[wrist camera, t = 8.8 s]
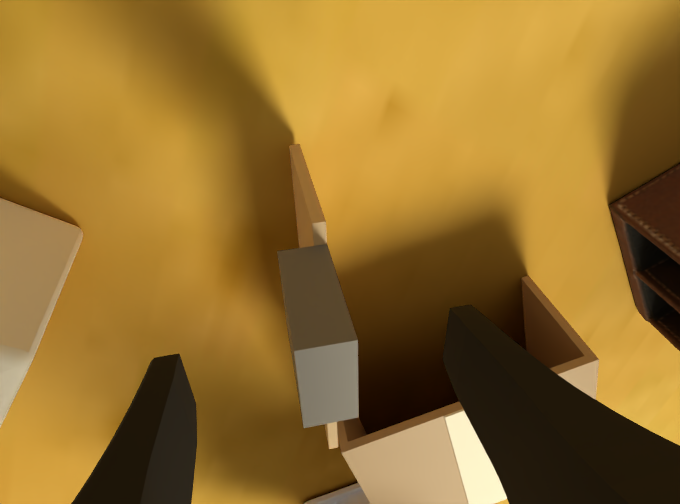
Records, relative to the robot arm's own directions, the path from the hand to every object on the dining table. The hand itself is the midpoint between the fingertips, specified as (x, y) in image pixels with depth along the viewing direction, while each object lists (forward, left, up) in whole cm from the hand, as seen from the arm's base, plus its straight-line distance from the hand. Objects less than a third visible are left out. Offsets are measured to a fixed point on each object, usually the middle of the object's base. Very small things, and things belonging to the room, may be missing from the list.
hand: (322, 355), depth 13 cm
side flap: (-3, +1, -9) cm, 9 cm away
